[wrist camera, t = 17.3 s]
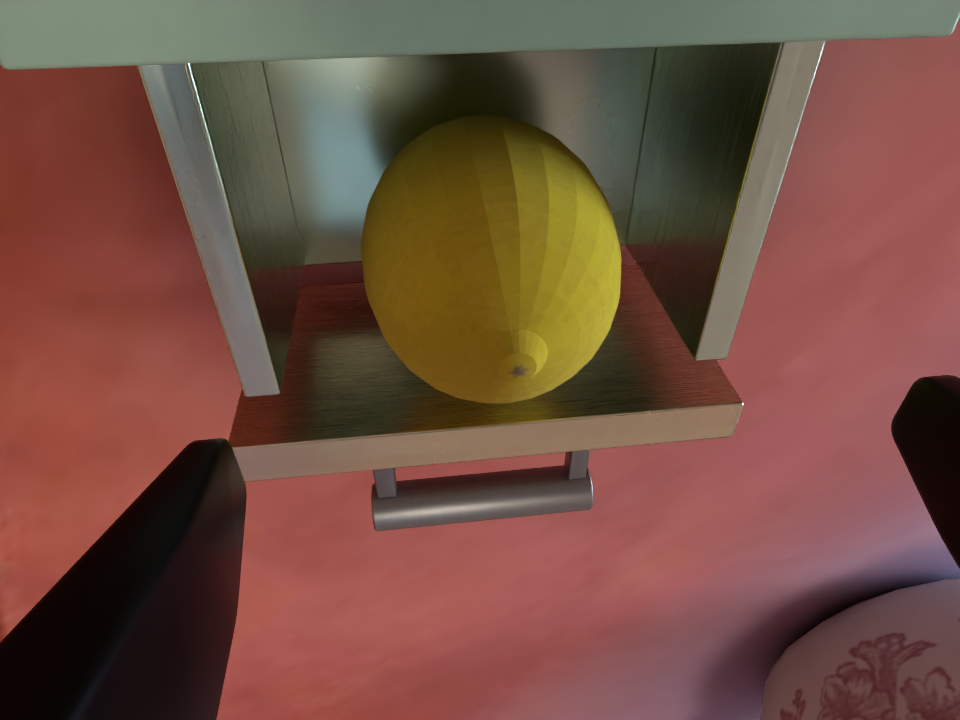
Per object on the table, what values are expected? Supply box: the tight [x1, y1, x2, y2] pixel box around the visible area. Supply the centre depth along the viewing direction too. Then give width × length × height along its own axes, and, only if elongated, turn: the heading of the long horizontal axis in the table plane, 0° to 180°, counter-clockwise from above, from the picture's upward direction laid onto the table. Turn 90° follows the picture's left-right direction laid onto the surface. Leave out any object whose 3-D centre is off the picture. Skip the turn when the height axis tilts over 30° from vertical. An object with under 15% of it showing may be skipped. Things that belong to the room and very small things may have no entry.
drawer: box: [137, 41, 826, 531], centre depth 16 cm, size 19×12×7 cm, turn 0°
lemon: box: [361, 115, 621, 403], centre depth 14 cm, size 6×6×8 cm
